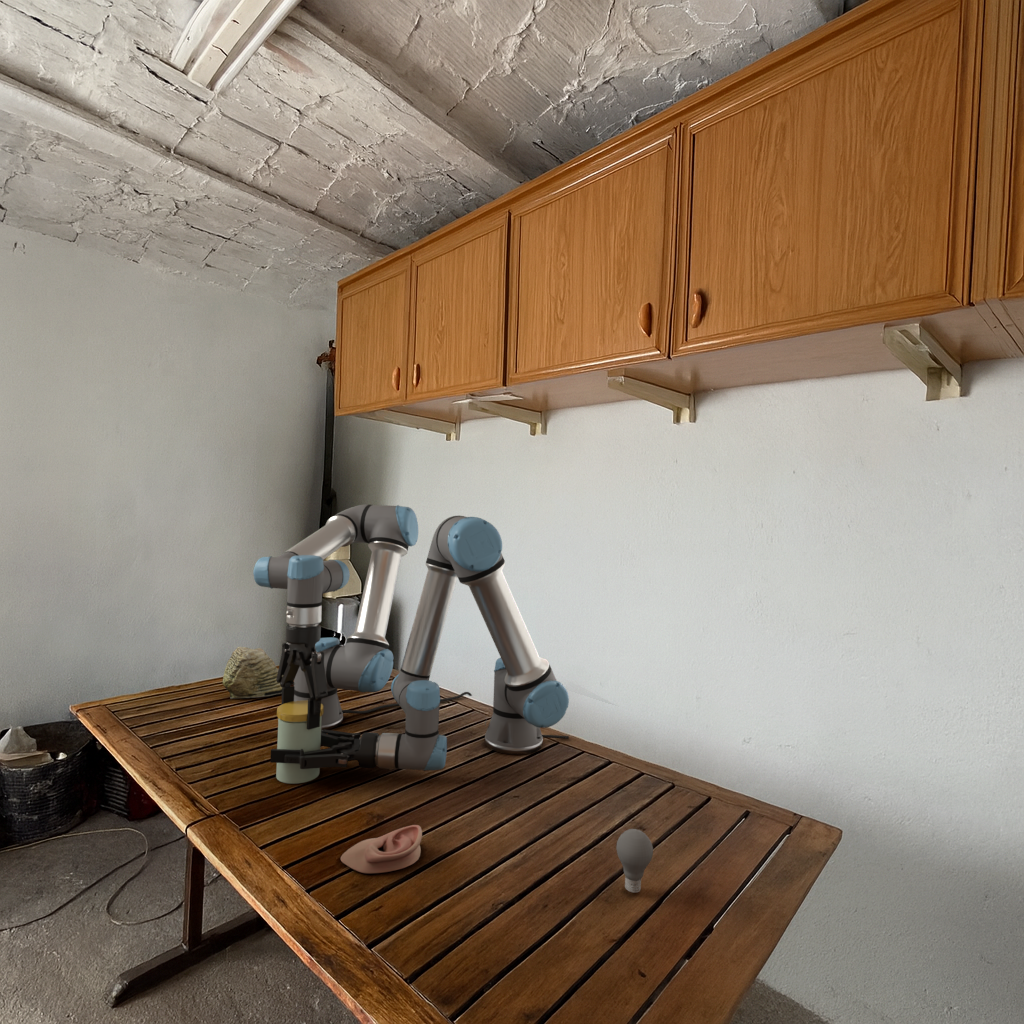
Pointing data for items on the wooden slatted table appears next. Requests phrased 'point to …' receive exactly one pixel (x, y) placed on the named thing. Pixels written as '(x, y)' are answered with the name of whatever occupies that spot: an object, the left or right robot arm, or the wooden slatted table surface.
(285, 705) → the lid
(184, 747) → the wooden slatted table surface
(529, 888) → the wooden slatted table surface
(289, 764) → the jar
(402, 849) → the anatomical model
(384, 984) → the wooden slatted table surface
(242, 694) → the fossil
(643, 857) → the light bulb
